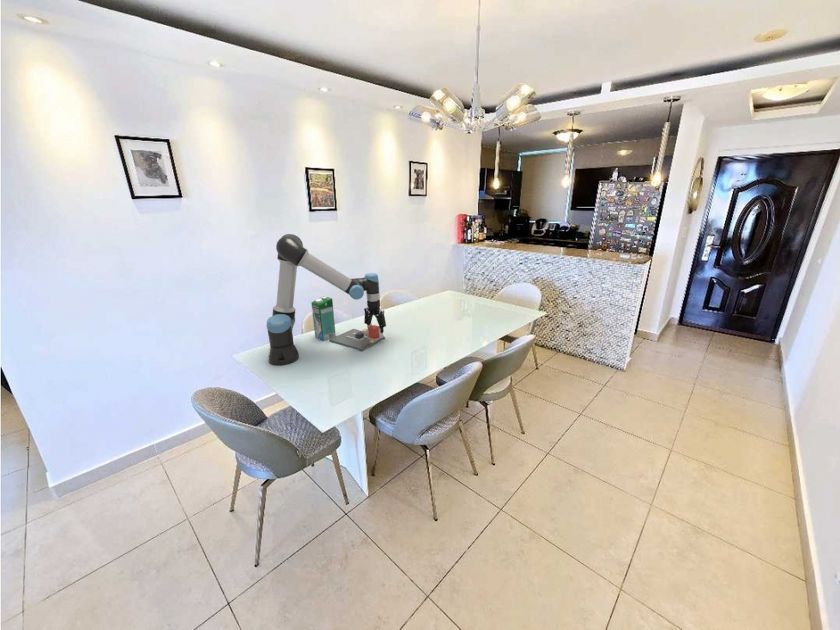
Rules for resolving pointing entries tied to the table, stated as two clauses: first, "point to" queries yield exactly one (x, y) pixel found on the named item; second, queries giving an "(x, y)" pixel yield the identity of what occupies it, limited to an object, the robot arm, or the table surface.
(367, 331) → the cream orange-banded box
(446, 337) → the table surface
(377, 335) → the red rectangular block
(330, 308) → the milk carton
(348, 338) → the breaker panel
